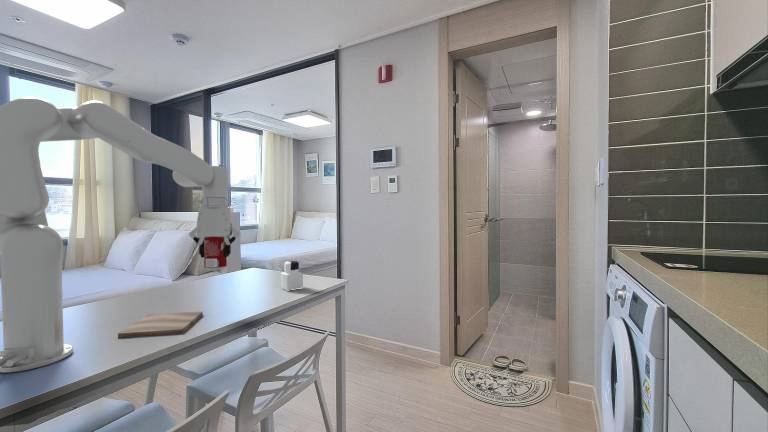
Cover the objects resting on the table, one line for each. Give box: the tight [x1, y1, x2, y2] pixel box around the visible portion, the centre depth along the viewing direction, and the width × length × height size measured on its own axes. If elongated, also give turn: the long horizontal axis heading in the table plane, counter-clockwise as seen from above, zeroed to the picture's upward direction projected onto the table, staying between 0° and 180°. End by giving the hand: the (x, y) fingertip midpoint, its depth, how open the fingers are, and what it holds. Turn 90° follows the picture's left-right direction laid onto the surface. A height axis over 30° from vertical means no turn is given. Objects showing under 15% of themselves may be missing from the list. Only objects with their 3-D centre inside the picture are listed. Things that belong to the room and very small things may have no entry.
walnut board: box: [117, 311, 203, 339], centre depth 98 cm, size 16×16×1 cm
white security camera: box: [280, 260, 304, 290], centre depth 142 cm, size 7×7×12 cm
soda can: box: [203, 237, 228, 271], centre depth 110 cm, size 7×7×12 cm
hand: (215, 256), depth 110 cm, fingers closed on soda can, 6 cm apart
